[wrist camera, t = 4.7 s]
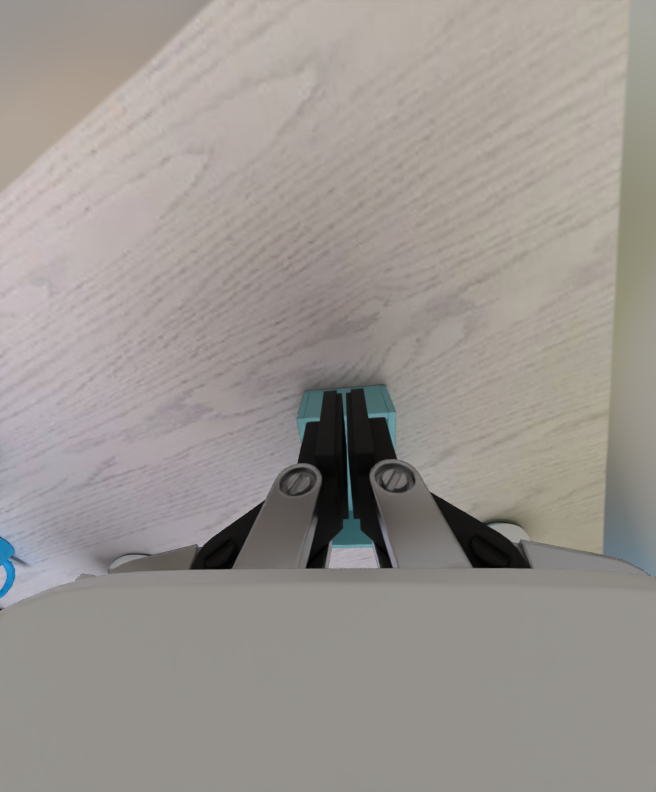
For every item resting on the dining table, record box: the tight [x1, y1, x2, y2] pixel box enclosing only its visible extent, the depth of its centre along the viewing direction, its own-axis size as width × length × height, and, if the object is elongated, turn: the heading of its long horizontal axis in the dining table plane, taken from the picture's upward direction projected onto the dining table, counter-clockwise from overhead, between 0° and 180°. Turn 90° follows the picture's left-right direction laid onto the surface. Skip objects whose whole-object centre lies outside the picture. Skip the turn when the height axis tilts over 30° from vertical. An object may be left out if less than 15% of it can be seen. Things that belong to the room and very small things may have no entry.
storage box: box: [297, 385, 396, 548], centre depth 26 cm, size 18×8×5 cm, turn 6°
